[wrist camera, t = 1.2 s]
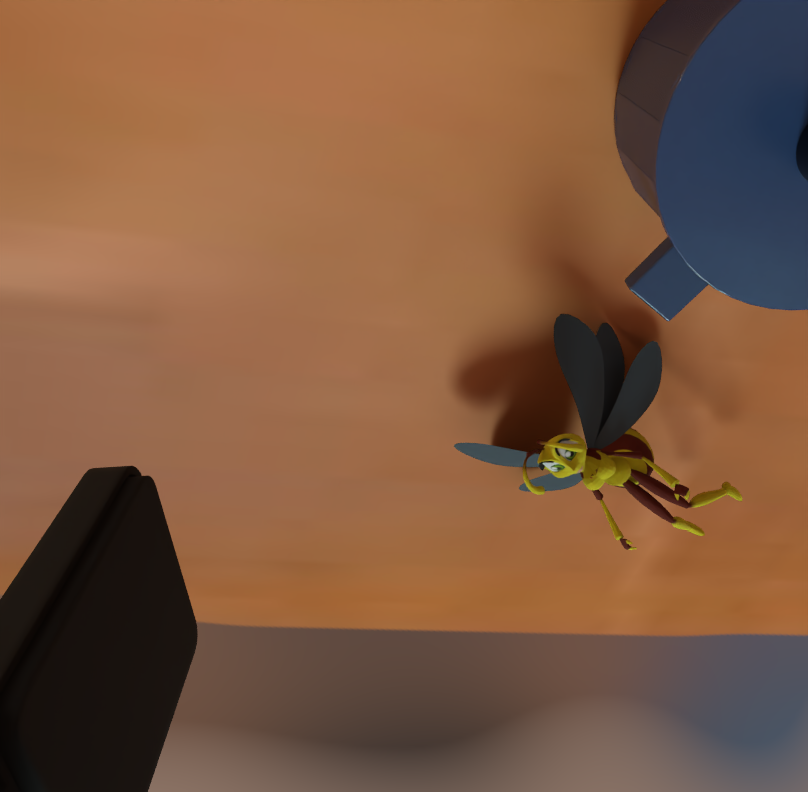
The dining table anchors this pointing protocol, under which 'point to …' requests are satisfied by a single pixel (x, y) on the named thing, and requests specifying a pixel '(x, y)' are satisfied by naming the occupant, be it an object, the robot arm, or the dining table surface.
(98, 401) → the dining table surface
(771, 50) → the pot lid
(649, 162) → the pot
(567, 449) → the toy
